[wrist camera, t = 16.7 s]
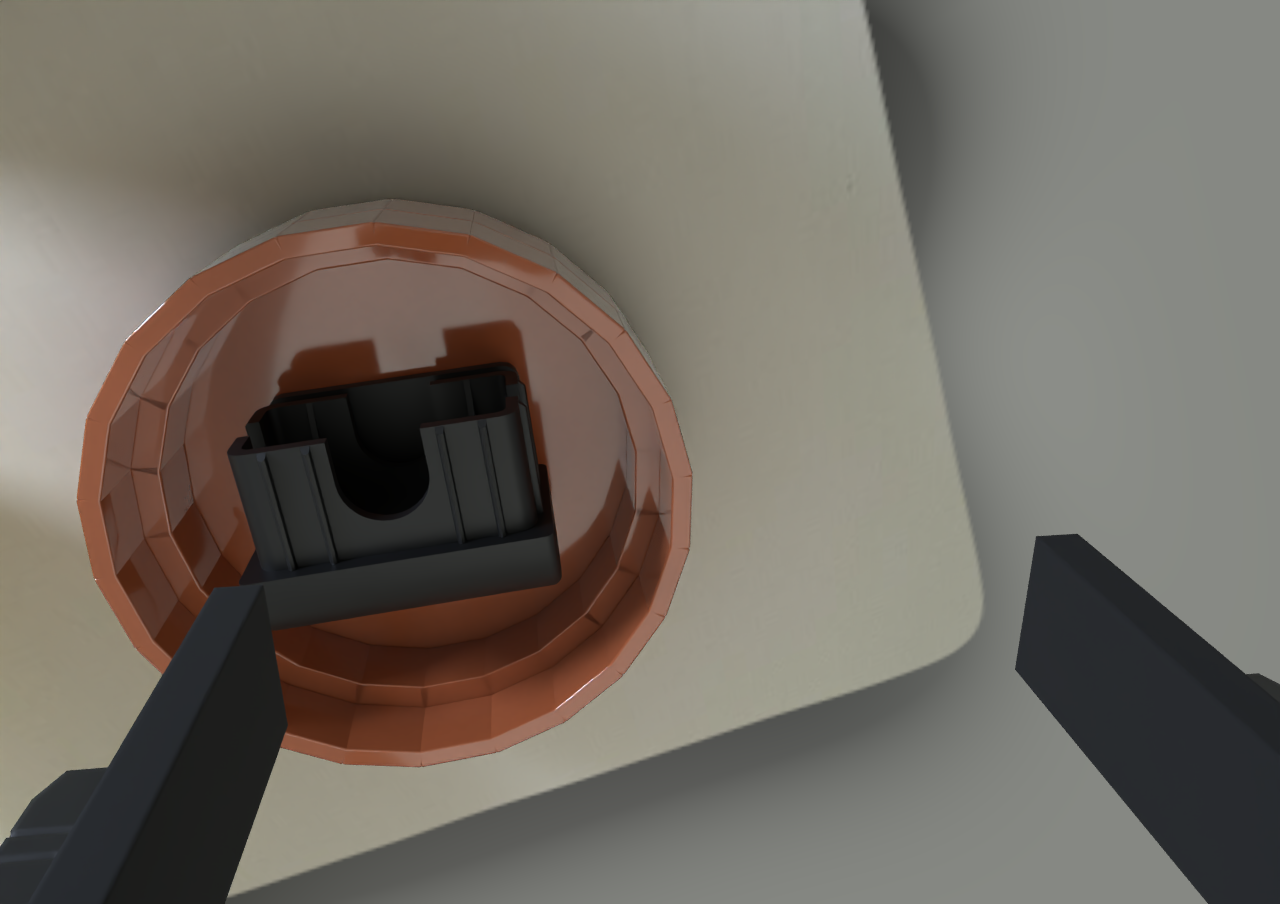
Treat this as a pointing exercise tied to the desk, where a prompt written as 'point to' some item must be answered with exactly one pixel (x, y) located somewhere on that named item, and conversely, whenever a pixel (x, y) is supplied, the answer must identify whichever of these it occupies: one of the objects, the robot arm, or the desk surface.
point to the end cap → (395, 495)
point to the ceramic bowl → (371, 350)
